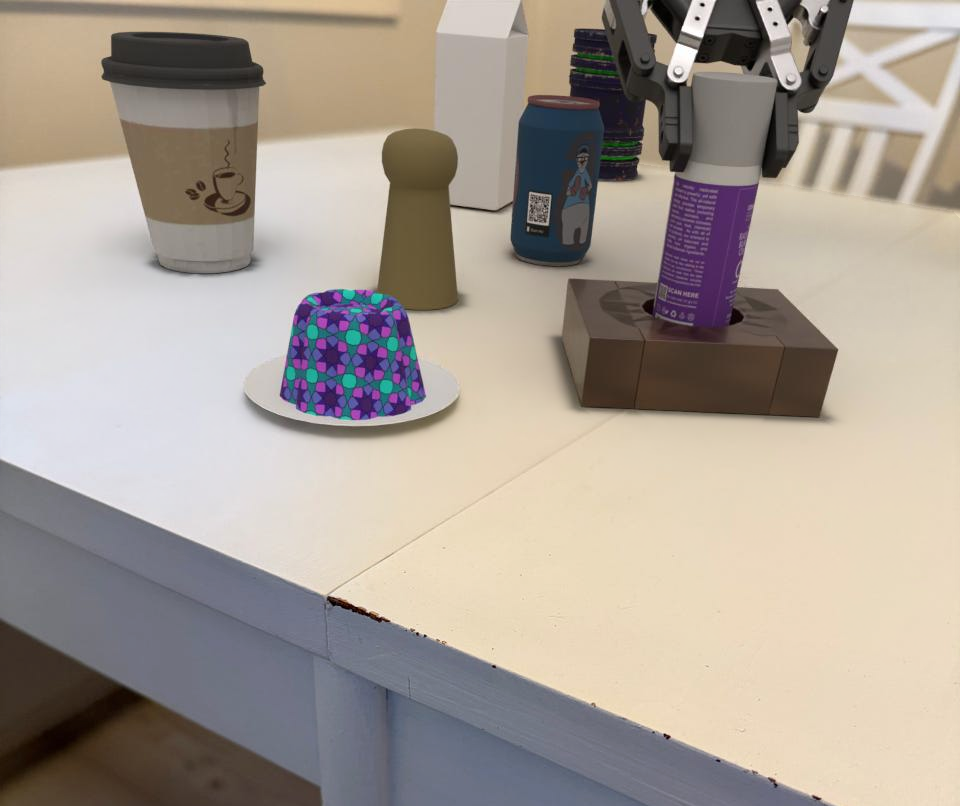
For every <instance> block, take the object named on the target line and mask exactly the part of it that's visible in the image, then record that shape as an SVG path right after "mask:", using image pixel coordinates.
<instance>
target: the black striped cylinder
mask: <svg viewBox="0 0 960 806" xmlns="http://www.w3.org/2000/svg"><path fill="white" fill-rule="evenodd" d="M648 34H649V38H650V41H651V44H652V47H653V50H654V54H655V55H656V50H655V45H656V43H657V40H658V34H655V33H650V32H648ZM573 38H574V41H573V42H574V43H572V48H571V51H572V52H573V53H575V54H571V55H570V60H569V62H570V63H569V66H570V67H573V68H570V70H569V75H568V78H569V79H568V84H569V86H570V88H569V89H570V91H569V96H571V97H580V98H587V99H592V100H596V101H598V102H599V103H600V105H599V108H598V109H599V112H600V115H601V118H602V122H603V125H604V134H603V143H602V152H601V160H600V169H599V178H598V181H605V182H624V181H625V182H626V181H632V180H635V179H637V178H638V173H639V171H638V165H639V164H640V158H639V157H638V156H641V155H642V151H643V145H644V144H643V143H642V141H643V140H644V136H645V128H644V126H643V125H644V118H645V117H644V116H645V112H646V111H645V110H646V103H647V100H646V99H643V100H641V101H639V102H632V101H630V100H628V99H627V98H626V96H625V94H624V90H623V87H622V84H621V81H620V77H619V74H618V71H617V68H616V64H615V61H614V58H613V54H612V51H611V48H610V45H609V41H608V38H607V35H606V32H605V28H604V29H603V28H583V27H581V28H574V30H573Z"/></svg>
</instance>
